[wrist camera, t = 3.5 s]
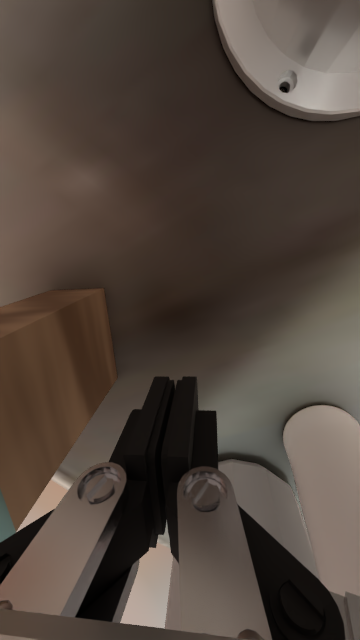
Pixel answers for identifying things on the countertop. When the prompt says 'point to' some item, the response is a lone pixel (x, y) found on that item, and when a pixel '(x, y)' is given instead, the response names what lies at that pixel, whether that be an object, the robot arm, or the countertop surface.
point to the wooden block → (48, 388)
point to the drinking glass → (328, 490)
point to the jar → (266, 509)
